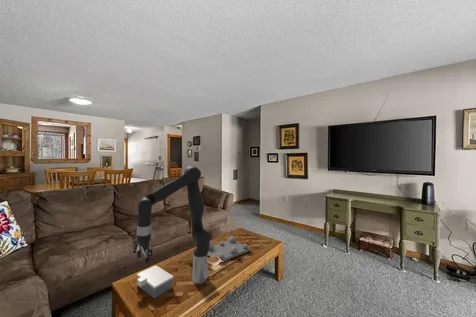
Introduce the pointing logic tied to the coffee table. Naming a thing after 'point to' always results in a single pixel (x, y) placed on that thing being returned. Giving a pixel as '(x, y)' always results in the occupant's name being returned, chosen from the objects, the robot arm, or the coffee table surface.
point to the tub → (158, 290)
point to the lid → (153, 277)
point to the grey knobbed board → (227, 249)
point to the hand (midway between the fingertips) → (142, 260)
